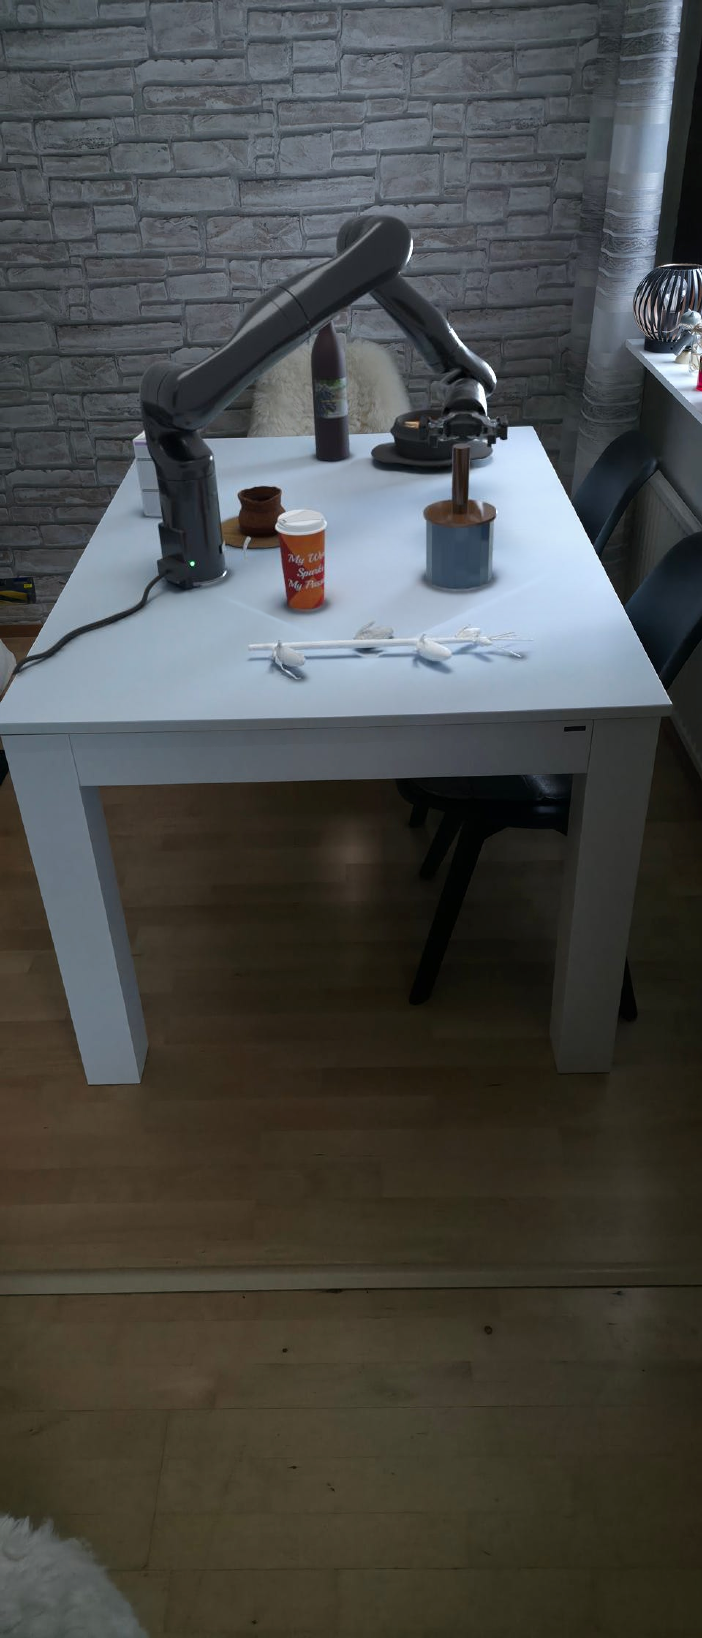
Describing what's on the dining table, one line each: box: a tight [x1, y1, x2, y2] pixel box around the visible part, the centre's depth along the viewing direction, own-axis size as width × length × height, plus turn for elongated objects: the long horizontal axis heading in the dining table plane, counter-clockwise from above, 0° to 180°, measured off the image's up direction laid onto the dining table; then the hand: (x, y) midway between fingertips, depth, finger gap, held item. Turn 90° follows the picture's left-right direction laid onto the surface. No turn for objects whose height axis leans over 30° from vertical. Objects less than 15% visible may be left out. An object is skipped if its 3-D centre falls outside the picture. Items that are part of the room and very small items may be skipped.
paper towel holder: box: [422, 444, 498, 528], centre depth 171 cm, size 11×11×11 cm
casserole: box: [370, 409, 494, 469], centre depth 228 cm, size 25×19×8 cm
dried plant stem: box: [243, 537, 535, 680], centre depth 154 cm, size 12×19×40 cm
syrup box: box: [132, 430, 162, 518], centre depth 207 cm, size 6×6×14 cm
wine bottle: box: [310, 319, 351, 462], centre depth 227 cm, size 7×7×30 cm
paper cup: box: [275, 509, 328, 611], centre depth 169 cm, size 8×8×14 cm
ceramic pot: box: [221, 485, 287, 549], centre depth 199 cm, size 18×18×7 cm
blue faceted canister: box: [425, 519, 495, 590], centre depth 177 cm, size 10×10×10 cm
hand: (462, 441), depth 175 cm, fingers open, 8 cm apart
